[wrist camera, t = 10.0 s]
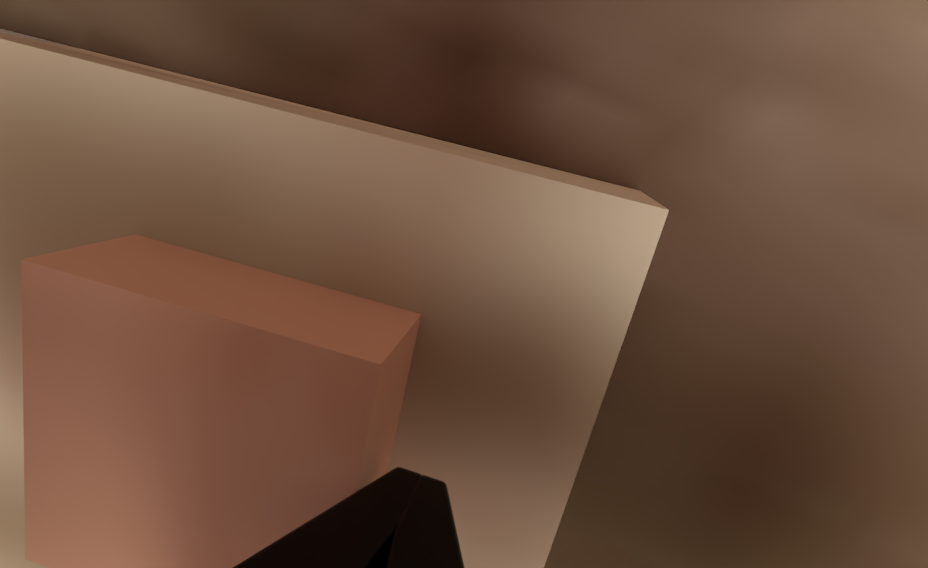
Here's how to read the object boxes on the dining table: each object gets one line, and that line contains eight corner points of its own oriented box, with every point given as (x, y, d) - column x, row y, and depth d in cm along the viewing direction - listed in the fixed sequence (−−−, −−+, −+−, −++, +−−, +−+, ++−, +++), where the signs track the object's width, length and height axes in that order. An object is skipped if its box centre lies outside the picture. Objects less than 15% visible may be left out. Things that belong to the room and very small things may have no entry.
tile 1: (367, 564, 10) (321, 665, 8) (122, 482, 10) (25, 559, 9) (421, 314, 9) (380, 363, 7) (135, 234, 9) (20, 259, 7)
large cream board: (421, 851, 16) (390, 1005, 13) (63, 709, 17) (-35, 821, 14) (640, 190, 10) (669, 209, 7) (81, 48, 12) (-76, 19, 9)
